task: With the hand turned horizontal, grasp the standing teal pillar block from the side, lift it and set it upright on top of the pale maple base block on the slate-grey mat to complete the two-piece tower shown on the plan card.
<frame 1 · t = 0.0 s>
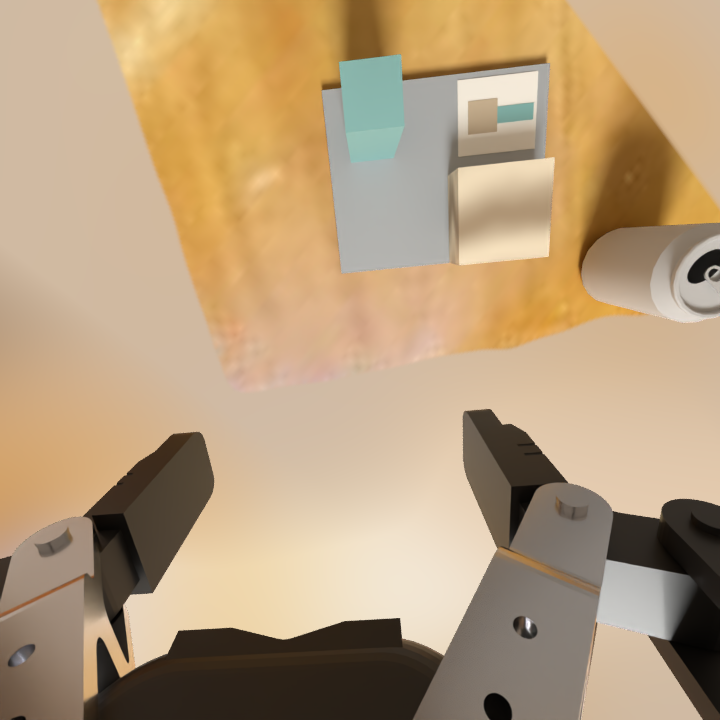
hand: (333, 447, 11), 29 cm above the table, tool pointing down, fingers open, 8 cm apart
mat: (435, 178, 35), on the table
can: (612, 265, 38), on the table
pillar: (370, 136, 33), point 1 cm above the table, touching mat
base block: (489, 216, 35), point 1 cm above the table, touching mat
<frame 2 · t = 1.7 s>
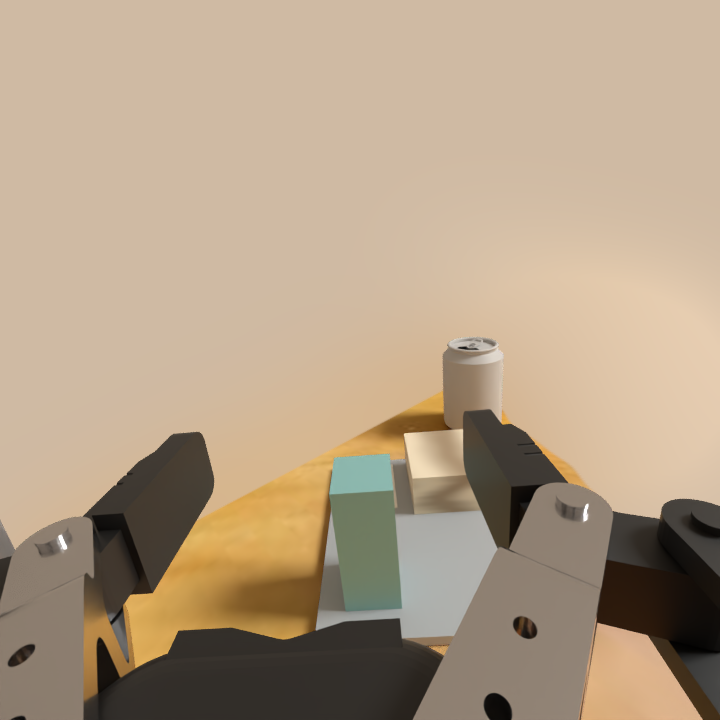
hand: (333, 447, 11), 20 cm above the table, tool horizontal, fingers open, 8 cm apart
mat: (416, 529, 33), on the table
can: (472, 427, 50), on the table
pillar: (373, 584, 28), point 1 cm above the table, touching mat
base block: (448, 484, 38), point 1 cm above the table, touching mat
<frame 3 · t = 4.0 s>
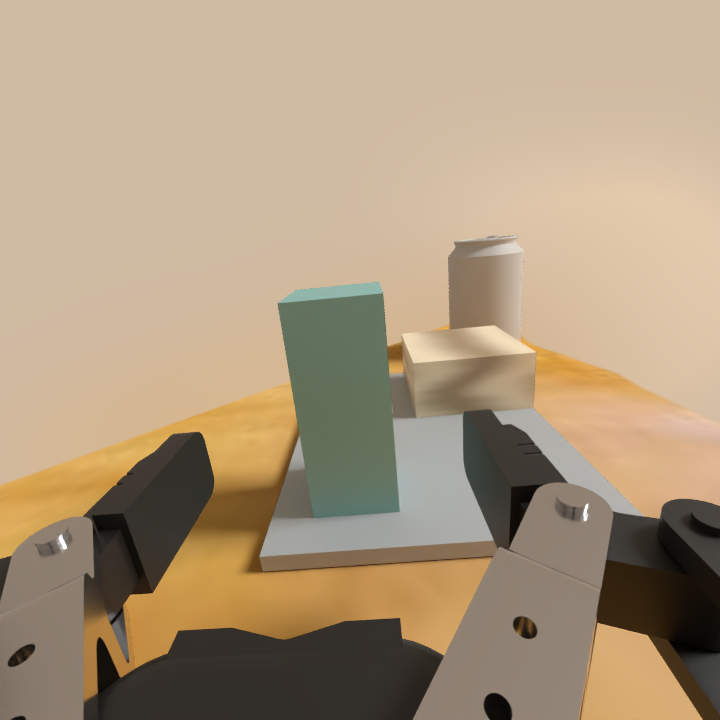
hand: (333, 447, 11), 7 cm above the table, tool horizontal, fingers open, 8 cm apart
mat: (418, 435, 24), on the table
can: (484, 349, 41), on the table
pillar: (357, 487, 19), point 1 cm above the table, touching mat
base block: (459, 390, 29), point 1 cm above the table, touching mat
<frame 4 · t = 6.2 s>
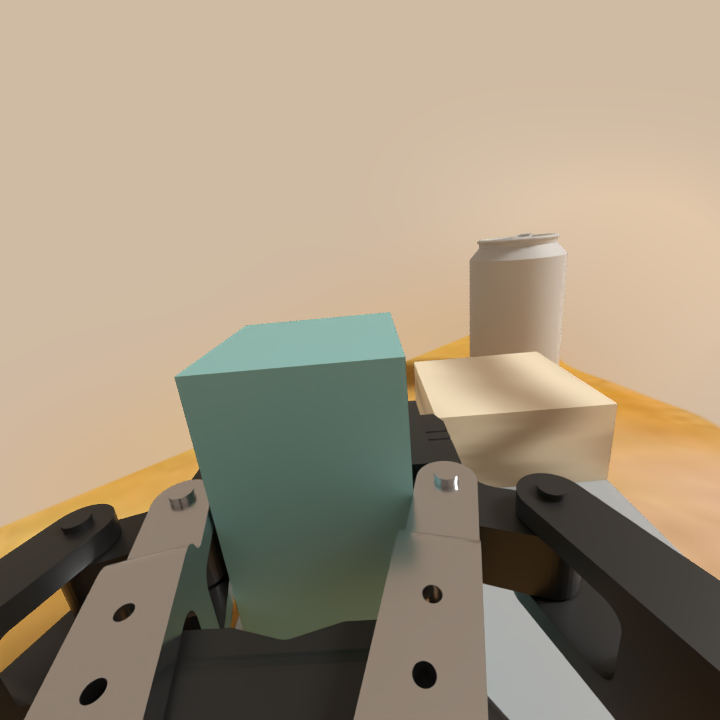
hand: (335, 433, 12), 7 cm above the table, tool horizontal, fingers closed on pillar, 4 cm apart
mat: (443, 520, 17), on the table
can: (512, 373, 34), on the table
pillar: (352, 650, 11), point 1 cm above the table, touching gripper, mat
base block: (494, 442, 21), point 1 cm above the table, touching mat
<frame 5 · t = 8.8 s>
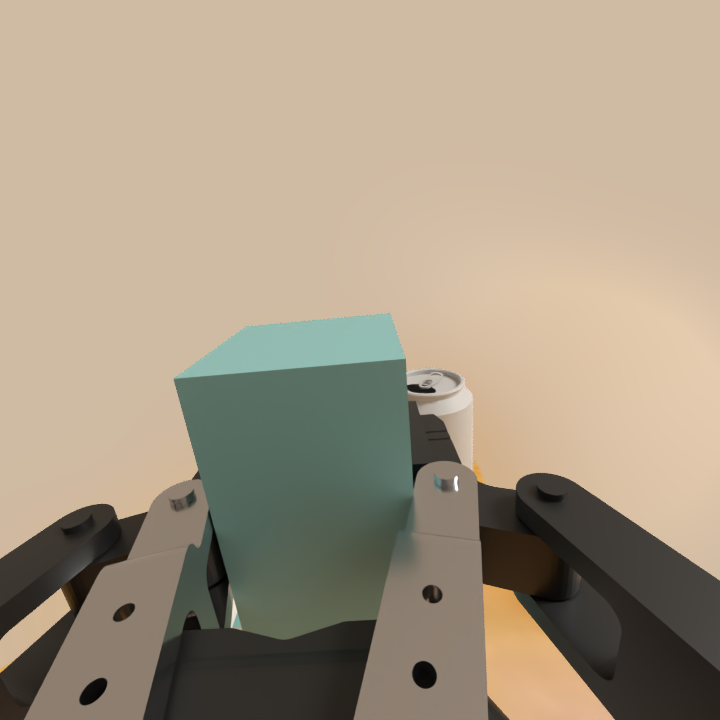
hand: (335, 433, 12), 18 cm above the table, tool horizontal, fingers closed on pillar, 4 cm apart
can: (432, 495, 35), on the table
pillar: (352, 652, 11), point 12 cm above the table, touching gripper
when the fingers open (12 cm above the table, at t = 11.6 s): pillar stays where it is, resting on base block.
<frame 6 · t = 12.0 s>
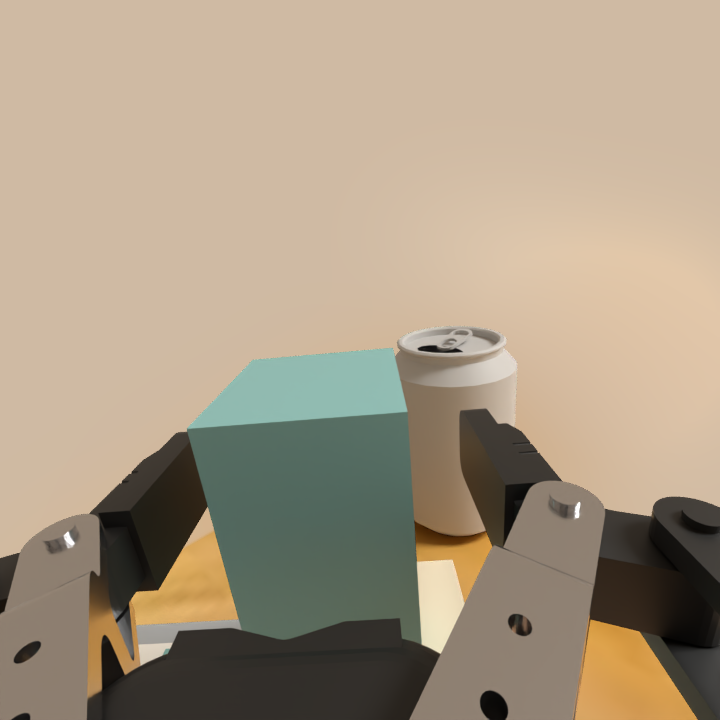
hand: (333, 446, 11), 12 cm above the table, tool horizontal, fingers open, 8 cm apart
can: (453, 505, 25), on the table
pillar: (355, 673, 11), point 5 cm above the table, touching base block
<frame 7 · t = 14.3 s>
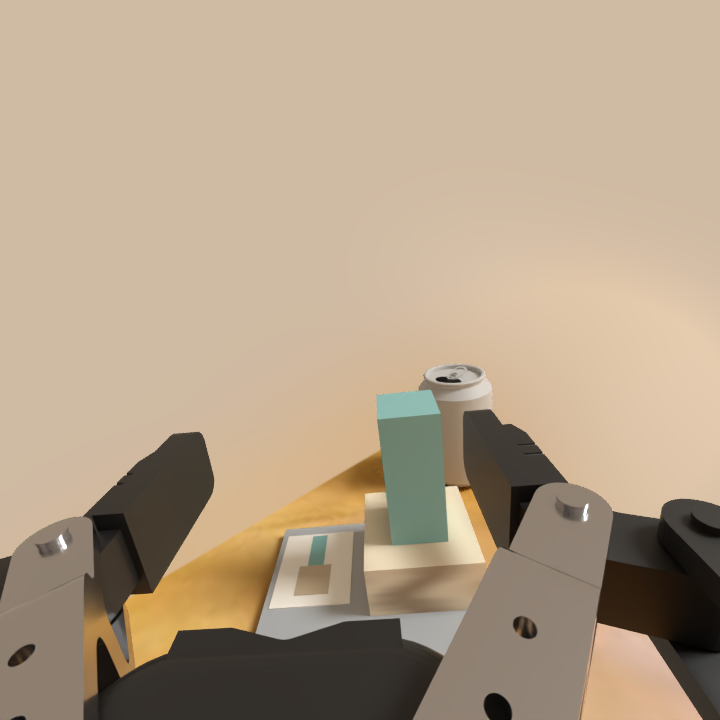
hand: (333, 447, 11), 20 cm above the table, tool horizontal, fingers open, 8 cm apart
mat: (371, 639, 25), on the table
can: (458, 472, 41), on the table
pillar: (416, 523, 28), point 5 cm above the table, touching base block
base block: (420, 564, 29), point 1 cm above the table, touching mat, pillar
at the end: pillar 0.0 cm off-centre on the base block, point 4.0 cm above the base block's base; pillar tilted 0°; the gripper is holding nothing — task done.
